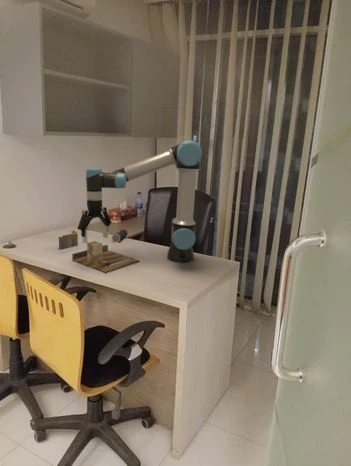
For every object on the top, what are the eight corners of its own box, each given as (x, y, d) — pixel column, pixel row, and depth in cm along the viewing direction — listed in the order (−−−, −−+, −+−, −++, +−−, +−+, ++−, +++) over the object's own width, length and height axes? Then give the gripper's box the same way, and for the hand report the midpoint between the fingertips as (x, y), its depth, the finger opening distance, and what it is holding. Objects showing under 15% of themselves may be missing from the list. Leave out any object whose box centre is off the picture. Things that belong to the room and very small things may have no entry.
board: (139, 261, 196) (139, 255, 195) (106, 273, 177) (106, 266, 176) (106, 251, 211) (106, 244, 210) (72, 260, 192) (72, 253, 191)
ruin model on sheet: (74, 245, 220) (74, 229, 218) (77, 246, 219) (77, 230, 216) (58, 249, 211) (58, 233, 209) (62, 250, 210) (61, 234, 207)
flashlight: (120, 236, 244) (120, 228, 243) (128, 236, 243) (128, 229, 242) (111, 241, 230) (111, 233, 228) (119, 242, 229) (120, 234, 227)
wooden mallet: (112, 264, 187) (112, 246, 184) (104, 267, 183) (104, 248, 180) (94, 259, 194) (94, 241, 192) (87, 261, 190) (87, 242, 188)
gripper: (108, 195, 194) (108, 234, 199) (69, 201, 175) (70, 243, 180) (117, 197, 189) (118, 236, 195) (79, 203, 170) (80, 246, 176)
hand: (95, 240), depth 187 cm, fingers open, 13 cm apart
